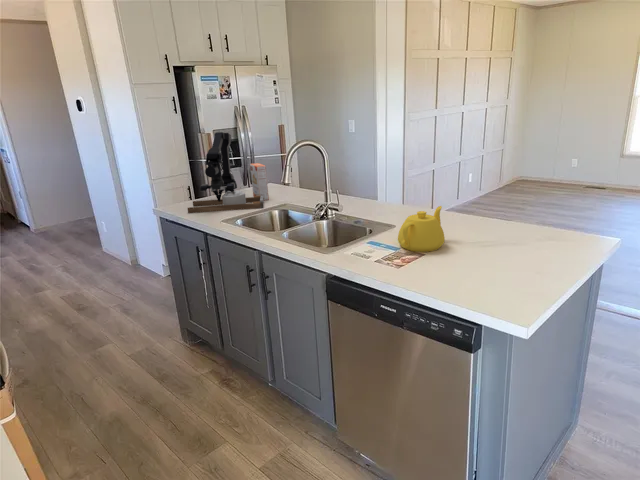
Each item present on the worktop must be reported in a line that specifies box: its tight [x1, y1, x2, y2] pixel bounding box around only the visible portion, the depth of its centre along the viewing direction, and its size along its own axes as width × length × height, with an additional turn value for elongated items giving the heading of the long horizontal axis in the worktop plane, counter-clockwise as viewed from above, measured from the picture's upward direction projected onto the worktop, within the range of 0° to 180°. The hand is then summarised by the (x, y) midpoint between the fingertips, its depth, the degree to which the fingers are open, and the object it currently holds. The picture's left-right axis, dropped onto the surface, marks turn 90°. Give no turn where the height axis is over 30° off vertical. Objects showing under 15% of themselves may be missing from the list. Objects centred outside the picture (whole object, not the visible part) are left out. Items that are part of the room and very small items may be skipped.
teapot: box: [397, 205, 446, 253], centre depth 167 cm, size 25×18×14 cm
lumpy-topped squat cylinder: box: [221, 190, 247, 205], centre depth 244 cm, size 10×13×9 cm
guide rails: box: [187, 195, 265, 214], centre depth 245 cm, size 17×41×4 cm, turn 96°
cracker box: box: [249, 162, 270, 202], centre depth 259 cm, size 14×6×21 cm, turn 25°
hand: (219, 201), depth 244 cm, fingers closed
